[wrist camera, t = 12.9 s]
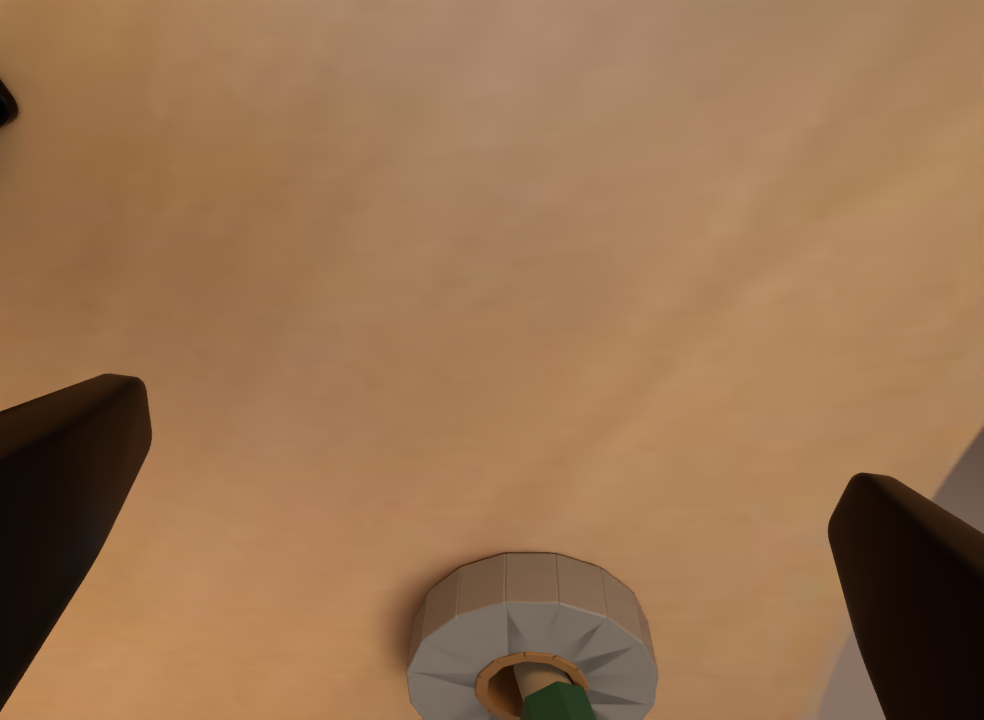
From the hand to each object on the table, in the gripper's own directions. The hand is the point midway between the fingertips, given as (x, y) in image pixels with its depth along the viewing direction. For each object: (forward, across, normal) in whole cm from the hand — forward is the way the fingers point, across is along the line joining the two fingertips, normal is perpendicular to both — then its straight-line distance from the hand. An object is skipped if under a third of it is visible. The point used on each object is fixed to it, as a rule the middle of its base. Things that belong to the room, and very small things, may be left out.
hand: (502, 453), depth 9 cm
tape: (+13, -4, +19) cm, 24 cm away
